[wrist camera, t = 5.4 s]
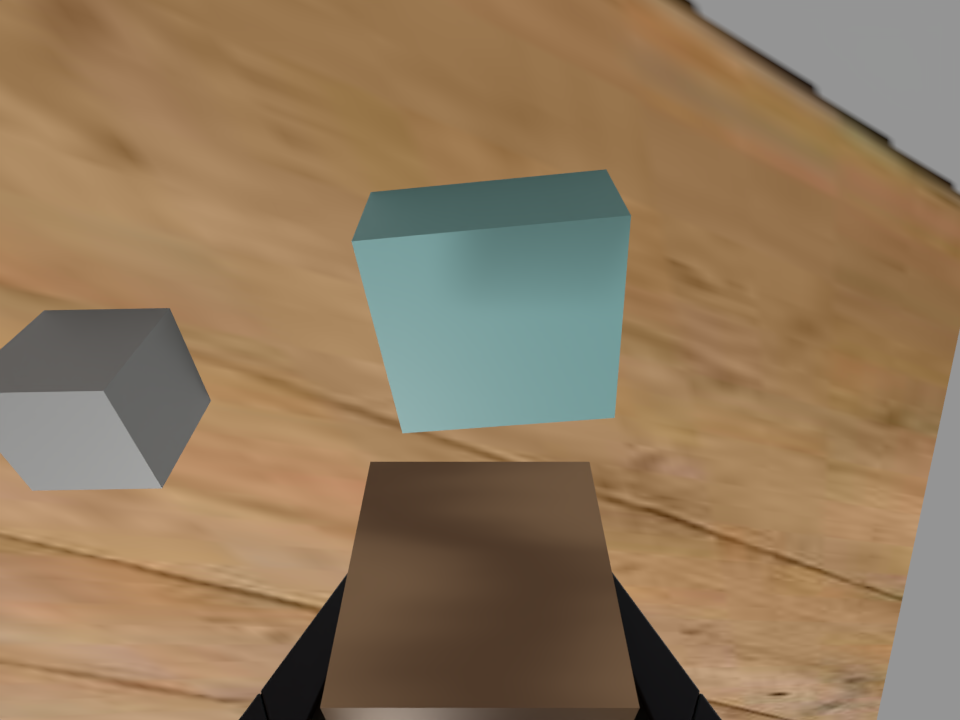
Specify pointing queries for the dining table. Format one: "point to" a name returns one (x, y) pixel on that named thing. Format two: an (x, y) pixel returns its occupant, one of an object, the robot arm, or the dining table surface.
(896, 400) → the dining table surface
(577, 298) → the teal base block
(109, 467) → the slate grey block
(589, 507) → the walnut block
